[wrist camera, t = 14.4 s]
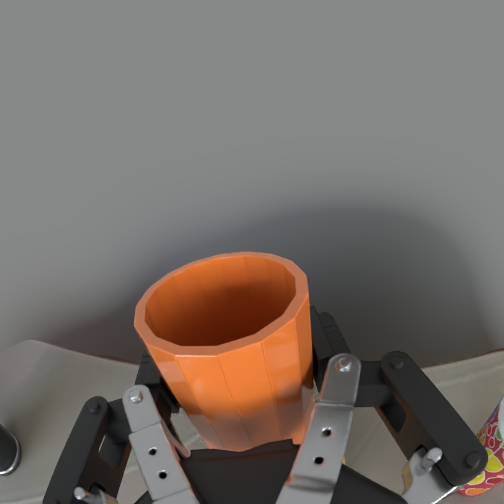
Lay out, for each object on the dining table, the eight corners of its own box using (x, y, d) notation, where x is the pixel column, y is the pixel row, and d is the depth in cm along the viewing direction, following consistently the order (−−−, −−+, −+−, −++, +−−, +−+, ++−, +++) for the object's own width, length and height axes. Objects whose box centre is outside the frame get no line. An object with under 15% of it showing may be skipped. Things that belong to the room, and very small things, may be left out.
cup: (190, 451, 13) (103, 322, 9) (241, 383, 17) (201, 247, 13) (286, 492, 10) (253, 383, 6) (328, 406, 14) (328, 257, 10)
